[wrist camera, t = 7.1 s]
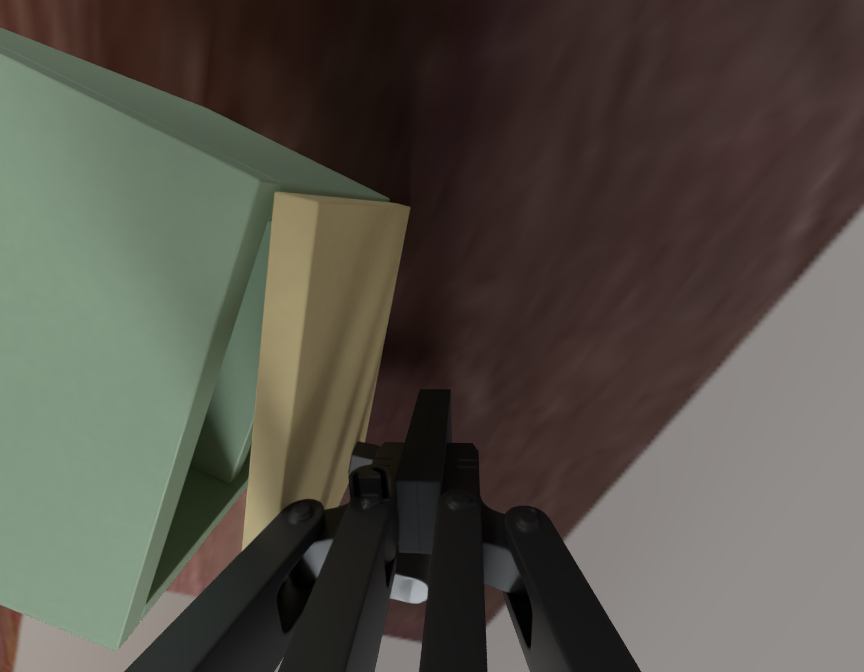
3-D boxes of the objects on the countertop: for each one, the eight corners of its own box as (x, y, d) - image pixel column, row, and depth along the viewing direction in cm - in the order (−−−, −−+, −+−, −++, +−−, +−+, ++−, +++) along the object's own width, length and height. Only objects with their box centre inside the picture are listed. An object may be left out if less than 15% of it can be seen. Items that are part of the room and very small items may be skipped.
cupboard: (390, 198, 23) (259, 179, 8) (298, 422, 27) (116, 653, 13) (207, 108, 22) (-275, -81, 8) (146, 353, 27) (-217, 517, 13)
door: (501, 227, 22) (559, 257, 8) (438, 464, 27) (408, 730, 13) (393, 202, 22) (273, 191, 8) (349, 443, 27) (229, 686, 13)
